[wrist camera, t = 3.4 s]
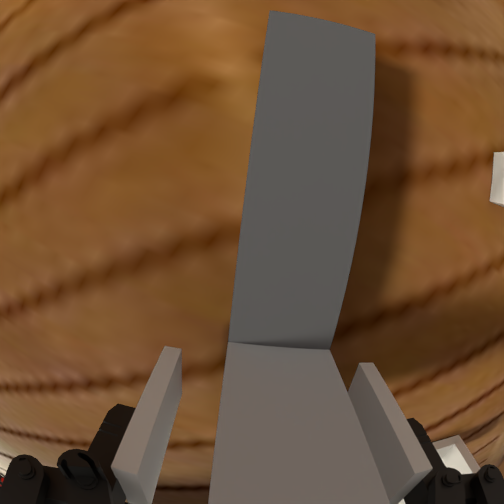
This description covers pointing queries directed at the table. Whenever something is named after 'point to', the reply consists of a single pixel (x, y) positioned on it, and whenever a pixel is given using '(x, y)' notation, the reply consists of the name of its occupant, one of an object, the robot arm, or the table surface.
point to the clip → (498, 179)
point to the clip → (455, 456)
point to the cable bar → (298, 276)
